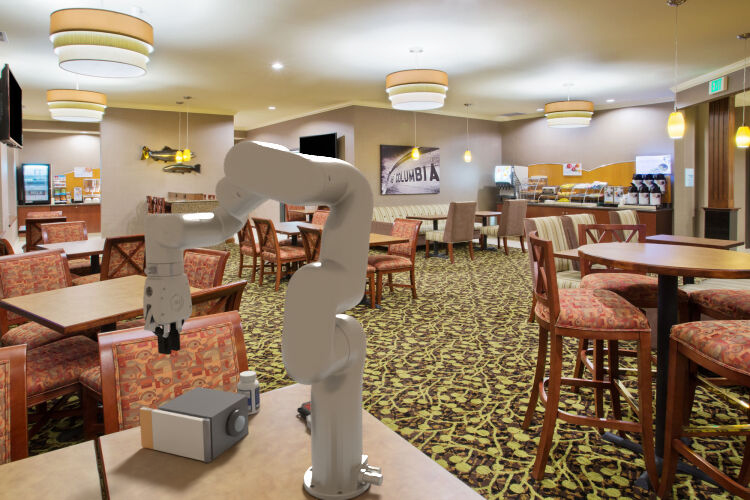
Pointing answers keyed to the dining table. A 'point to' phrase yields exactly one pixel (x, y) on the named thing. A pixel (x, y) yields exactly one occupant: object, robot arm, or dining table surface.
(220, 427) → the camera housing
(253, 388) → the pill bottle
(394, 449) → the dining table surface
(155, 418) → the side door
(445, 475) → the dining table surface
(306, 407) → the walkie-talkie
